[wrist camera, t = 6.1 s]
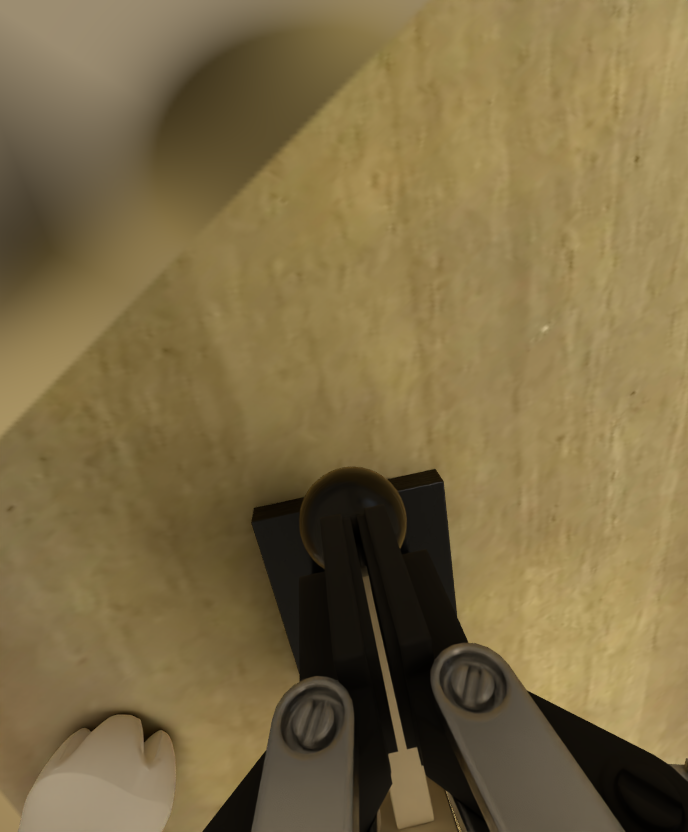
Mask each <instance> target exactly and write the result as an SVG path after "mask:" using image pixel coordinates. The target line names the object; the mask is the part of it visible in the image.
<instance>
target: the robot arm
mask: <svg viewBox="0 0 688 832" xmlns="http://www.w3.org/2000/svg"><path fill="white" fill-rule="evenodd" d="M357 520H358V525H359V530H360V535H361V540H362V545H363V550H364V555H365V560H366V565H367V570H368V575H369V580H370V585H371V590H372V595H373V600H374V605H375V609H376V614H377V618H378V623H379V627H380V632H381V636H382V641H383V645H384V650H385V654H386V659H387V663H388V668H389V672H390V676H391V681H392V685H393V690H394V694H395V699H396V703H397V708H398V712H399V717H400V721H401V726H402V730H403V735H404V739H405V743H406V748H407V749H411V748H416V747H417V750H418V754H419V758H420V762H421V766H424V770H425V775H426V776H427V777H428V778H430V779H431V780H432V781H434V782H435V783H436V784H438V785H439V786H440V787H442V788H443V789H444V790H446V791H447V794H448V797H449V801H450V803H451V806H452V808H453V810H454V813H455V815H456V818H457V820H458V823H459V825H460V827H461V830H462V832H688V759H687V758H686V761H685V765H677V764H667V763H666V762H664V761H662V760H661V759H659V758H658V757H656V756H655V755H653V754H651V753H649V752H647V751H645V750H643V749H641V748H639V747H637V746H635V745H633V744H631V743H629V742H627V741H625V740H623V739H621V738H619V737H618V736H616V735H614V734H612V733H610V732H608V731H606V730H604V729H602V728H600V727H598V726H596V725H594V724H592V723H590V722H588V721H586V720H584V719H582V718H580V717H578V716H576V715H574V714H572V713H570V712H568V711H566V710H564V709H562V708H560V707H558V706H557V705H555V704H553V703H551V702H549V701H547V700H545V699H543V698H541V697H539V696H537V695H535V694H533V693H531V692H529V691H527V690H526V689H525V687H524V686H523V685H522V683H521V682H520V680H519V679H518V677H517V676H516V675H515V673H514V672H513V670H512V669H511V667H510V666H509V665H508V664H507V662H506V661H505V660H504V659H503V658H502V657H501V656H500V655H499V654H497V653H496V652H494V651H493V650H491V649H490V648H488V647H485V646H482V645H479V644H476V643H468V641H467V638H466V636H465V634H464V632H463V629H462V627H461V625H460V623H459V620H458V618H457V616H456V614H455V611H454V609H453V607H452V604H451V602H450V600H449V598H448V595H447V593H446V591H445V589H444V586H443V584H442V582H441V580H440V577H439V575H438V573H437V571H436V568H435V566H434V564H433V562H432V559H431V557H430V555H429V553H428V551H427V550H426V549H425V550H420V551H416V552H411V553H407V554H402V553H401V550H400V548H399V545H398V542H397V539H396V536H395V533H394V531H393V528H392V525H391V522H390V519H389V516H388V514H387V511H386V508H385V505H384V504H382V505H377V506H373V507H368V508H364V514H363V515H358V516H357ZM320 523H321V533H322V544H323V555H324V566H325V572H320V573H316V574H311V575H307V576H302V577H300V578H299V663H300V682H299V683H297V684H295V685H293V686H292V687H291V688H290V689H289V690H288V691H287V692H286V693H285V694H284V695H283V697H282V698H281V700H280V701H279V703H278V705H277V706H276V709H275V712H274V715H273V718H272V723H271V728H270V734H269V739H268V744H267V750H266V751H265V752H264V754H263V755H262V756H261V757H260V759H259V760H258V761H257V763H256V764H255V765H254V766H253V768H252V769H251V770H250V772H249V773H248V774H247V775H246V777H245V778H244V779H243V780H242V782H241V783H240V784H239V786H238V787H237V788H236V789H235V791H234V792H233V793H232V795H231V796H230V797H229V798H228V800H227V801H226V802H225V803H224V805H223V806H222V807H221V809H220V810H219V811H218V812H217V814H216V815H215V816H214V817H213V819H212V820H211V821H210V823H209V824H208V825H207V826H206V828H205V829H204V830H203V832H381V815H380V809H379V808H380V806H381V804H382V802H383V801H384V799H385V797H386V795H387V793H388V791H389V789H390V787H391V786H392V784H393V783H392V778H391V773H392V772H391V766H390V761H389V755H388V754H390V753H394V752H398V747H397V742H396V737H395V733H394V728H393V723H392V718H391V713H390V708H389V703H388V699H387V694H386V689H385V684H384V679H383V674H382V669H381V665H380V660H379V655H378V650H377V645H376V640H375V635H374V631H373V626H372V621H371V616H370V611H369V606H368V601H367V597H366V592H365V587H364V582H363V577H362V573H361V568H360V563H359V558H358V553H357V548H356V544H355V539H354V534H353V529H352V524H351V520H350V517H349V518H344V519H342V516H341V513H340V514H335V515H331V516H326V517H322V518H320Z"/></svg>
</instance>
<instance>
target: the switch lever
mask: <svg viewBox="0 0 688 832" xmlns="http://www.w3.org/2000/svg"><path fill="white" fill-rule="evenodd" d="M382 504H384V505H385V508H386V511H387V514H388V516H389V519H390V522H391V525H392V528H393V531H394V533H395V536H396V539H397V542H398V545H399V548H400V549H401V547H402V545H403V542H404V539H405V535H406V528H407V516H406V510H405V506H404V503H403V501H402V498H401V496H400V495H399V493H398V491H397V490H396V488H395V487H394V486H393V485H392V484H391V483H390V482H389V481H388V480H387V479H386V478H385V477H383V476H382V475H380V474H379V473H377V472H375V471H372V470H370V469H366V468H362V467H343V468H339V469H335V470H333V471H331V472H329V473H327V474H325V475H323V476H322V477H321V478H320V479H318V480H317V481H316V482H315V483H314V484H313V485H312V486H311V488H310V489H309V490H308V492H307V494H306V495H305V497H304V500H303V502H302V505H301V509H300V514H299V530H300V536H301V539H302V542H303V544H304V547H305V549H306V550H307V552H308V554H309V555H310V557H311V558H312V559H313V560H314V561H315V562H316V563H317V564H318V565H319V566H320V567H322V568H323V569H324V570H325V566H324V555H323V544H322V533H321V523H320V518H322V517H326V516H331V515H335V514H340V513H341V516H342V519H344V518H349V517H350V520H351V524H352V529H353V534H354V539H355V544H356V548H357V553H358V558H359V563H360V568H361V573H362V577H363V582H364V587H365V592H366V597H367V601H368V606H369V611H370V616H371V621H372V626H373V631H374V635H375V640H376V645H377V650H378V655H379V660H380V665H381V669H382V674H383V679H384V684H385V689H386V694H387V699H388V703H389V708H390V713H391V718H392V723H393V728H394V733H395V737H396V742H397V747H398V752H394V753H390V754H388V755H389V761H390V766H391V772H392V773H391V778H392V783H393V784H392V786H391V787H390V789H389V791H388V793H387V795H386V797H385V799H384V801H383V802H382V804H381V806H380V808H379V809H380V815H381V832H459V831H458V828H457V825H456V822H455V819H454V816H453V812H452V809H451V806H450V803H449V800H448V796H447V793H446V790H444V789H443V788H442V787H440V786H439V785H438V784H436V783H435V782H434V781H432V780H431V779H430V778H428V777H427V776H426V775H425V770H424V766H421V762H420V758H419V754H418V750H417V747H416V748H411V749H407V748H406V743H405V739H404V735H403V730H402V726H401V721H400V717H399V712H398V708H397V703H396V699H395V694H394V690H393V685H392V681H391V676H390V672H389V668H388V663H387V659H386V654H385V650H384V645H383V641H382V636H381V632H380V627H379V623H378V618H377V614H376V609H375V605H374V600H373V595H372V590H371V585H370V580H369V575H368V570H367V565H366V560H365V555H364V550H363V545H362V540H361V535H360V530H359V525H358V520H357V516H358V515H363V514H364V508H368V507H373V506H377V505H382Z"/></svg>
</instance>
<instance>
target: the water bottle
mask: <svg viewBox="0 0 688 832" xmlns="http://www.w3.org/2000/svg"><path fill="white" fill-rule="evenodd" d="M175 784H176V762H175V753H174V749H173V744H172V741H171V739H170V737H169V735H168V734H167V733H166V732H164V731H162V730H159V731H157V732H156V733H154V734H153V735H152V736H150V737H149V738H148V739H147V740H146V741H145V742H144V738H143V728H142V724H141V720H140V719H139V718H136V717H135V716H132V715H114V716H111V717H109V718H108V719H106V720H105V721H104V722H102V723H101V724H100V725H99V726H98V727H96V728H95V729H94V730H93V731H92V732H91V731H90V730H89V729H87V728H81V729H80V730H78V731H77V732H75V733H73V734H72V735H71V736H70V737H68V738H67V739H66V741H65V742H64V743H63V744H62V745H61V746H60V747H59V748H58V749H57V751H56V752H55V753H54V754H53V755H52V757H51V758H50V759H49V761H48V762H47V764H46V765H45V767H44V768H43V769H42V771H41V773H40V774H39V776H38V778H37V780H36V781H35V783H34V785H33V787H32V788H31V790H30V792H29V794H28V796H27V798H26V801H25V804H24V808H23V812H22V817H21V821H20V826H19V830H18V832H162V831H163V829H164V826H165V824H166V822H167V820H168V818H169V816H170V814H171V809H172V804H173V799H174V793H175Z"/></svg>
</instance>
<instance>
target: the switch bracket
mask: <svg viewBox="0 0 688 832" xmlns="http://www.w3.org/2000/svg"><path fill="white" fill-rule="evenodd" d="M388 481H389V482H390V483H391V484H392V485H393V486H394V487H395V488H396V490H397V491H398V493H399V495H400V496H401V498H402V501H403V503H404V506H405V510H406V516H407V528H406V535H405V539H404V542H403V545H402V547H401V549H400V550H401V553H402V554H407V553H411V552H416V551H420V550H425V549H426V550H427V551H428V553H429V555H430V557H431V559H432V562H433V564H434V566H435V568H436V571H437V573H438V575H439V577H440V580H441V582H442V584H443V586H444V589H445V591H446V593H447V595H448V598H449V600H450V602H451V604H452V607H453V609H454V611H455V614H456V616H457V610H456V600H455V590H454V580H453V570H452V560H451V550H450V540H449V530H448V520H447V510H446V501H445V491H444V481H443V480H442V478H441V477H440V475H439V474H438V472H437V471H436V469H434V470H430V471H425V472H420V473H416V474H411V475H406V476H402V477H397V478H392V479H388ZM303 500H304V497H303V498H299V499H294V500H289V501H285V502H280V503H275V504H271V505H266V506H261V507H257V508H254V510H253V516H252V522H251V523H252V527H253V530H254V533H255V536H256V539H257V542H258V545H259V549H260V552H261V555H262V558H263V561H264V564H265V567H266V571H267V574H268V577H269V580H270V583H271V586H272V589H273V593H274V596H275V599H276V602H277V605H278V608H279V611H280V614H281V618H282V621H283V624H284V627H285V630H286V633H287V636H288V640H289V643H290V646H291V649H292V652H293V655H294V658H295V662H296V665H297V668H298V671H299V674H300V663H299V578H300V577H302V576H307V575H311V574H316V573H320V572H325V570H324V569H323V568H322V567H320V566H319V565H318V564H317V563H316V562H315V561H314V560H313V559H312V558H311V557H310V555H309V554H308V552H307V550H306V549H305V547H304V544H303V542H302V539H301V536H300V530H299V514H300V509H301V505H302V502H303Z"/></svg>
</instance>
